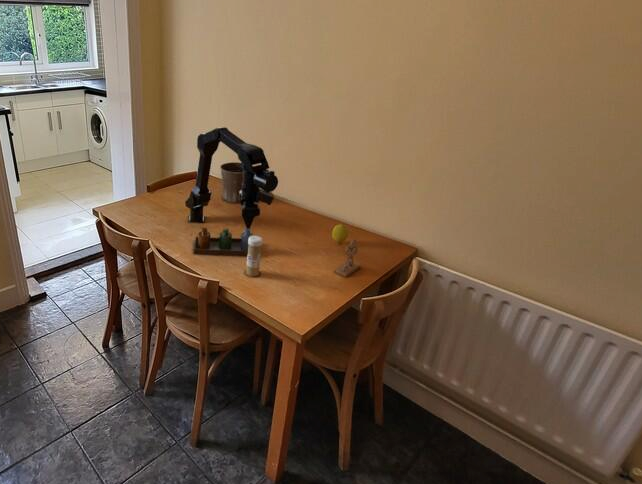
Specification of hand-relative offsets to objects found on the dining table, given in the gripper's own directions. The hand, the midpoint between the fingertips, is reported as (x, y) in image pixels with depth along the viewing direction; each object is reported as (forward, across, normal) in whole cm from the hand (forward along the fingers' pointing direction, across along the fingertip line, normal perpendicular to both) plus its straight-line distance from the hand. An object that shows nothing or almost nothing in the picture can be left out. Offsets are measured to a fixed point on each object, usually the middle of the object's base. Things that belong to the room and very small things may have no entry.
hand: (247, 223), depth 151 cm
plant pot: (+11, +51, +2) cm, 53 cm away
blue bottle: (+10, 0, 0) cm, 10 cm away
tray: (+11, -1, +8) cm, 13 cm away
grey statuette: (+11, -13, -34) cm, 38 cm away
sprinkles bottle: (+11, -18, -1) cm, 21 cm away
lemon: (+11, +7, -36) cm, 38 cm away
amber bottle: (+10, -1, +16) cm, 19 cm away
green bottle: (+10, -1, +8) cm, 13 cm away
